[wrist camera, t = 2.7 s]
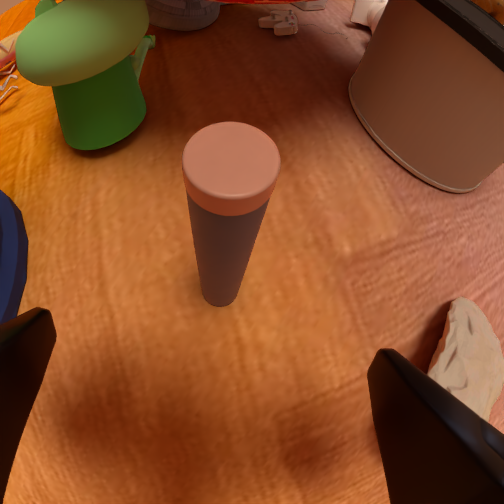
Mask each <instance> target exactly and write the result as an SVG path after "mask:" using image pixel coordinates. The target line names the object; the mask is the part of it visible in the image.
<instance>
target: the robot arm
mask: <svg viewBox="0 0 504 504" xmlns="http://www.w3.org/2000/svg"><path fill="white" fill-rule="evenodd" d="M56 337H57V335H56V329H55V326H54V322H53V319H52V315H51V312H50V311H49V310H48V309H44V308H40V307H36V308H34V309H31V310H29V311H27V312H25V313H23V314H21V315H19V316H17V317H15V318H13V319H11V320H9V321H7V322H5V323H3V324H1V325H0V504H3V498H4V495H5V491H6V487H7V483H8V479H9V475H10V472H11V468H12V465H13V461H14V458H15V455H16V451H17V448H18V445H19V442H20V439H21V436H22V433H23V431H24V428H25V425H26V422H27V419H28V417H29V414H30V412H31V409H32V406H33V404H34V401H35V399H36V396H37V394H38V392H39V389H40V386H41V384H42V381H43V378H44V375H45V372H46V369H47V365H48V362H49V359H50V356H51V354H52V351H53V348H54V345H55V342H56ZM367 379H368V385H369V392H370V399H371V407H372V415H373V421H374V426H375V431H376V435H377V439H378V444H379V448H380V453H381V457H382V462H383V467H384V472H385V477H386V482H387V487H388V492H389V498H390V504H504V434H503V433H501V432H500V431H498V430H497V429H496V428H495V427H493V426H492V425H491V424H489V423H488V422H487V421H486V420H484V419H483V418H480V416H479V415H478V414H477V413H475V412H474V411H473V410H471V409H470V408H469V407H468V406H466V405H465V404H464V403H463V402H461V401H460V400H459V399H457V398H456V397H455V396H454V395H452V394H451V393H450V392H448V391H447V390H446V389H445V388H443V387H442V386H441V385H440V384H438V383H437V382H436V381H434V380H433V379H432V378H431V377H429V376H428V375H427V374H425V373H424V372H423V371H421V370H420V369H419V368H418V367H416V366H415V365H414V364H412V363H411V362H410V361H409V360H407V359H406V358H405V357H403V356H402V355H401V354H399V353H398V352H397V351H396V350H394V349H391V348H383V349H380V350H378V352H377V353H376V355H375V357H374V359H373V361H372V363H371V365H370V367H369V369H368V373H367Z"/></svg>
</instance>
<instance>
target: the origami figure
mask: <svg viewBox="0 0 504 504" xmlns="http://www.w3.org/2000/svg"><path fill="white" fill-rule="evenodd" d="M13 44H14V38H13V40H12V42H11V45H10V47H9V50H8V49H7V48H6V47H5V46H4V45H3V44H2V43H1V42H0V49H1V50H2V51H4V52H5V53H7V54H8V55H9V53H10V51H11V48H12V46H13ZM14 67H15V64H14V65H13V67H12V69H11V71H3V72H0V75H5V74H11V72H12V70H13V69H14ZM10 78H15V79H17V76H16V75H10V76H9V77H8V78H7V80H6V81H5V83H4V84H3V86H0V90H1V91H3V90H4V88H5V86H6V85H7V83H8V81H9V79H10ZM11 88H16V89H18V86H11V87H10V88H9V89H8V90H7V91H6V92H5V93H4V94H3V95H2V96H1V97H0V101H1V100H2V99H3V98H4V96H5V95H6V94H7V93H8V92H9V91H10V90H11Z"/></svg>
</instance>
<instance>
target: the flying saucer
mask: <svg viewBox="0 0 504 504" xmlns="http://www.w3.org/2000/svg"><path fill="white" fill-rule="evenodd" d="M145 2H146V6H147V10H148V14H149V24H151V25H154V26H157V27H161V28H165V29H170V30H179V31H191V30H198V29H202V28H205V27H207V26H209V25H211V24H212V23H213V22H214V21H215V20H216V19H217V17H218V15H219V11H220V2H214V1H205V0H145Z"/></svg>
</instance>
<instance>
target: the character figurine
mask: <svg viewBox="0 0 504 504" xmlns="http://www.w3.org/2000/svg"><path fill="white" fill-rule="evenodd" d="M387 2H388V0H355V1H354V5H353V9H352V13H351V16H350V21H351V22H356V23H360V24H362V25H366V26H370V27H369V28H370V29H371V30H372V35H373V33H374V31H375V29H376V26H377V24H378V22H379V20H380V17H381V15H382V13H383V11H384V9H385V6H386V4H387Z"/></svg>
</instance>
